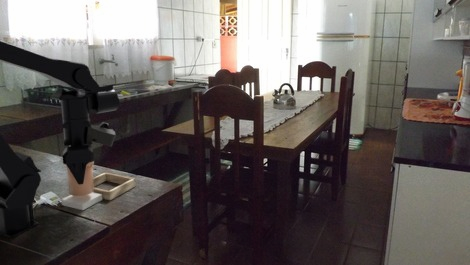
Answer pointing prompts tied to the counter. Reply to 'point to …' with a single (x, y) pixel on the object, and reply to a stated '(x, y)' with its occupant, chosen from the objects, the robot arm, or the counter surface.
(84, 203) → the stone tile
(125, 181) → the beige square frame
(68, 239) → the counter surface
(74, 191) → the terracotta pot
